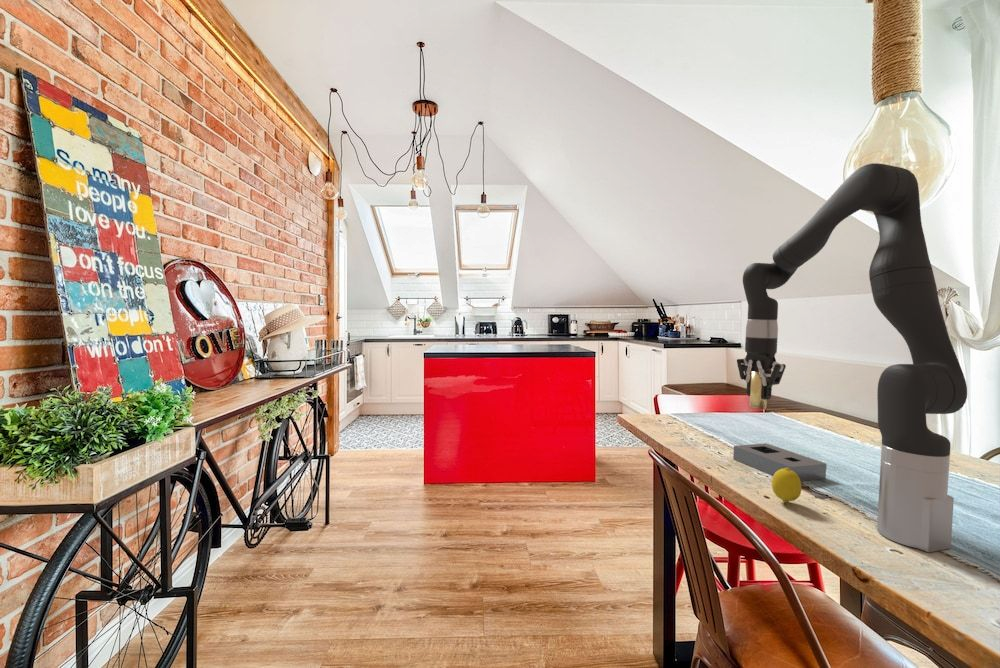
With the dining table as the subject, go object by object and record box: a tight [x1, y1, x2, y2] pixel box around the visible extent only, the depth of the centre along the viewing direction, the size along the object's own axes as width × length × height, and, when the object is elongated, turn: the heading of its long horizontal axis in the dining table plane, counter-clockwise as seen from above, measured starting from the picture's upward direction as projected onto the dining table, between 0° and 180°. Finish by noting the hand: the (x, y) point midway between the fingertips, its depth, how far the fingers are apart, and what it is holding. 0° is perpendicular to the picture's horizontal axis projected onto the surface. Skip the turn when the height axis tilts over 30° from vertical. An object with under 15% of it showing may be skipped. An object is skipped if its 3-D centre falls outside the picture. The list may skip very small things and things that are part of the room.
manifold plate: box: [732, 443, 827, 482], centre depth 117 cm, size 18×12×4 cm, turn 16°
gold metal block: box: [749, 371, 768, 410], centre depth 117 cm, size 4×4×10 cm
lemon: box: [771, 468, 802, 504], centre depth 95 cm, size 6×6×8 cm
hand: (758, 397), depth 118 cm, fingers closed on gold metal block, 4 cm apart
